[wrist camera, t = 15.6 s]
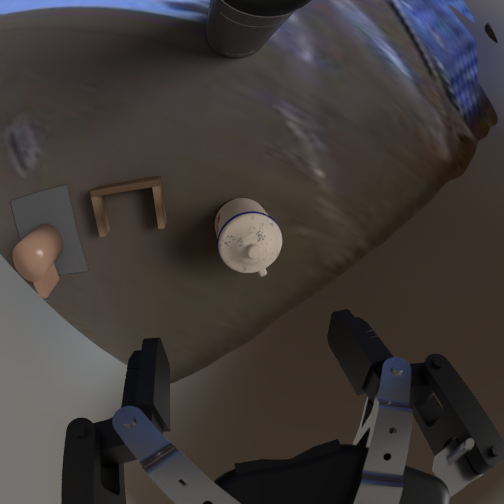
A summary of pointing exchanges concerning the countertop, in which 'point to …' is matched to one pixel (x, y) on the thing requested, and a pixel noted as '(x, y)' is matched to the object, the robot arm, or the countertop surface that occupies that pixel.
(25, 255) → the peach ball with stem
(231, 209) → the teacup with lid
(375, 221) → the countertop surface
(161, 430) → the robot arm
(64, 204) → the charcoal mat
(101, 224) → the walnut holder
